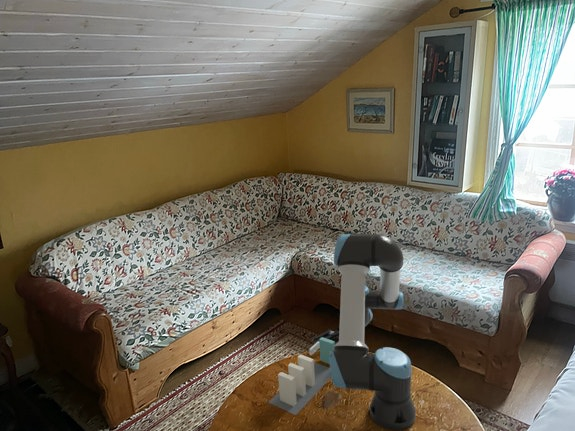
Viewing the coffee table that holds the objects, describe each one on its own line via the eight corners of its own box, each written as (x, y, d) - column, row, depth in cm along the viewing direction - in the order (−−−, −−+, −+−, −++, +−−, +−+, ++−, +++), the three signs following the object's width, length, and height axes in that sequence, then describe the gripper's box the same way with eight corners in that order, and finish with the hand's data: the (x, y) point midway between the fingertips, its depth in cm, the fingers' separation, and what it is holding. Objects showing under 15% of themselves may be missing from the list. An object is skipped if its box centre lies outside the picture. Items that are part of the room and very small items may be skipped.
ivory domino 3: (315, 384, 172) (313, 359, 169) (312, 387, 171) (311, 361, 168) (301, 378, 176) (300, 354, 172) (299, 381, 174) (297, 356, 171)
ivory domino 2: (306, 393, 168) (304, 368, 164) (303, 396, 166) (301, 370, 163) (292, 387, 171) (290, 362, 168) (289, 390, 170) (288, 365, 166)
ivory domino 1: (296, 403, 163) (294, 377, 160) (293, 406, 162) (291, 380, 158) (283, 397, 167) (281, 371, 163) (280, 400, 165) (277, 374, 162)
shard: (322, 416, 159) (322, 411, 158) (308, 404, 165) (308, 400, 164) (345, 401, 165) (345, 397, 164) (330, 390, 171) (330, 386, 170)
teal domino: (335, 365, 184) (334, 341, 181) (333, 367, 183) (332, 343, 179) (322, 360, 187) (321, 337, 184) (320, 362, 186) (319, 339, 183)
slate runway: (337, 372, 179) (337, 370, 179) (295, 417, 158) (295, 415, 158) (311, 363, 186) (311, 360, 186) (268, 404, 165) (268, 402, 165)
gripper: (373, 345, 191) (347, 374, 175) (327, 329, 204) (298, 355, 188) (373, 329, 189) (347, 357, 172) (326, 314, 202) (297, 339, 185)
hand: (321, 356), depth 180 cm, fingers open, 10 cm apart
